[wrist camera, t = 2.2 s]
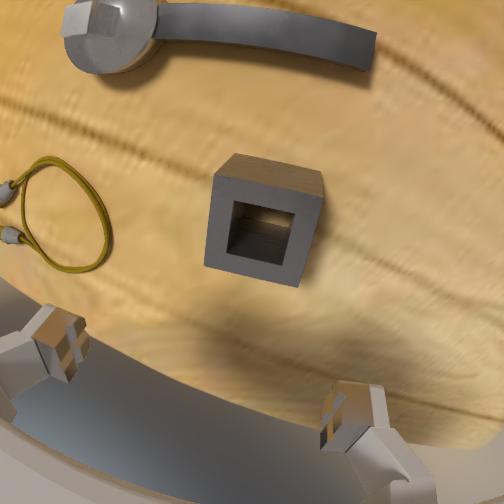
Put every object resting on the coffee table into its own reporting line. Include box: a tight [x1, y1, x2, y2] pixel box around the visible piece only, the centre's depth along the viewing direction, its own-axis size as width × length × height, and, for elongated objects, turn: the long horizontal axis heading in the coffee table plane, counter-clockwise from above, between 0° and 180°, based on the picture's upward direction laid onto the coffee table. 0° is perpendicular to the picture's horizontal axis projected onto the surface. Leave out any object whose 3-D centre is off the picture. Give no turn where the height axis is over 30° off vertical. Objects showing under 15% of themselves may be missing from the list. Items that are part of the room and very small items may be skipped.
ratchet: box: [61, 0, 377, 74], centre depth 14 cm, size 20×7×6 cm, turn 80°
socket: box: [204, 153, 324, 288], centre depth 19 cm, size 6×6×5 cm
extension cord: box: [0, 156, 110, 273], centre depth 25 cm, size 12×16×2 cm
